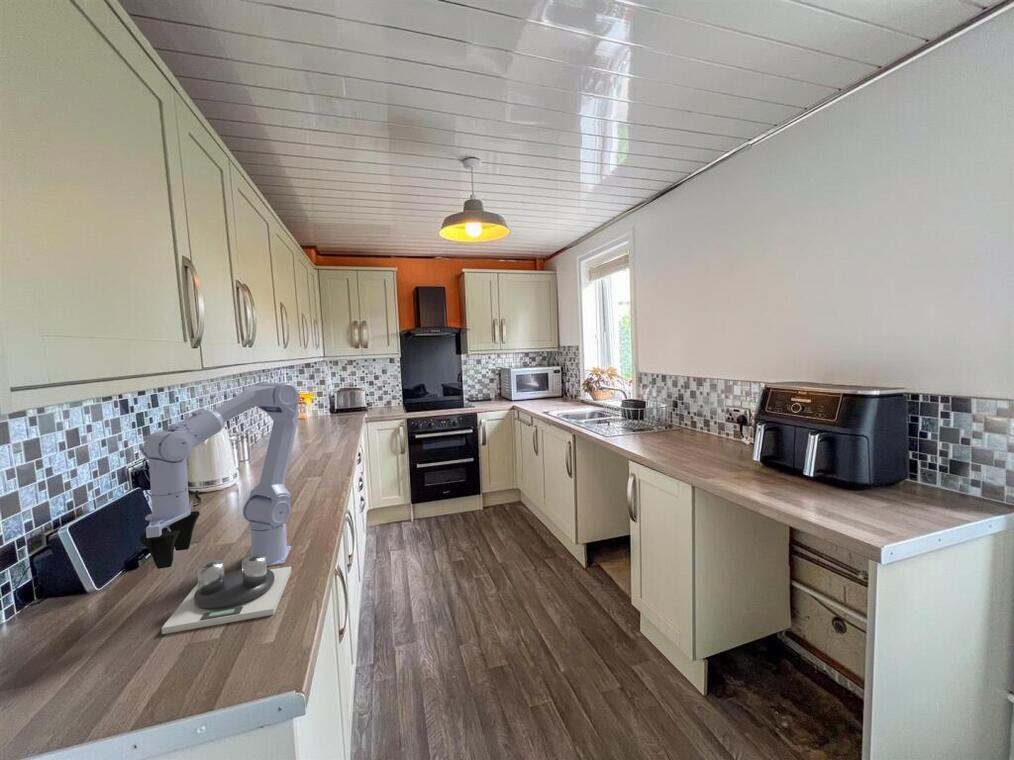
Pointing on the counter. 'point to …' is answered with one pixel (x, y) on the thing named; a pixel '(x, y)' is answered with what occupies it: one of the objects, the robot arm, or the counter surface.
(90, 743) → the counter surface
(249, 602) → the scale base
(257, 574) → the cylinder
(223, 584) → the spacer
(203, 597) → the scale pan
